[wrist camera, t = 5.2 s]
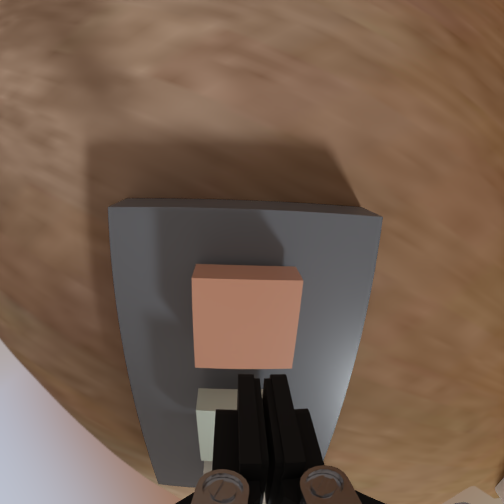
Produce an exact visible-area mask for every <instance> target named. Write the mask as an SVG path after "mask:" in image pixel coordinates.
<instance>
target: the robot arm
mask: <svg viewBox="0 0 504 504" xmlns="http://www.w3.org/2000/svg"><path fill="white" fill-rule="evenodd" d="M264 492H265V502H266V504H385V503H382V502H380V501H378V500H375V499H373V498H371V497H369V496H366V495H364V494H362V493H360V492H358V491H355V490H354V488H353V486H352V484H351V483H350V481H349V479H348V477H347V476H346V475H345V473H344V472H342V471H341V470H340V469H338V468H335V467H332V466H326V465H324V462H323V458H322V454H321V451H320V447H319V444H318V440H317V436H316V433H315V429H314V426H313V422H312V419H311V415H310V412H309V410H308V408H305V409H294V406H293V402H292V397H291V393H290V388H289V384H288V380H287V376H286V374H270V378H264V384H263V395H262V394H261V385H260V378H254V374H238V391H237V410H225V409H216V412H215V427H214V443H213V461H212V471H210V472H208V473H206V474H204V475H203V476H202V477H201V478H200V479H199V481H198V483H197V485H196V488H195V492H194V493H192V494H191V495H189V496H187V497H186V498H184V499H182V500H181V501H179V502H177V503H176V504H263V498H264ZM455 504H469V503H466V502H465V503H455Z"/></svg>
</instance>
